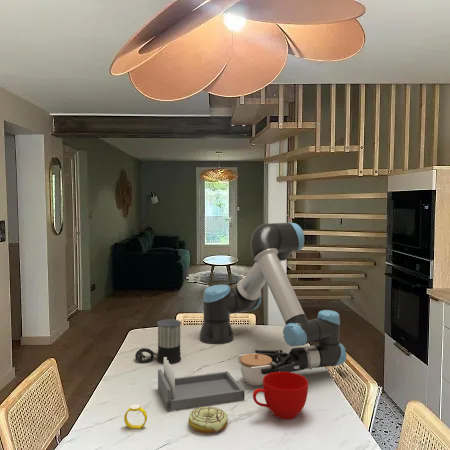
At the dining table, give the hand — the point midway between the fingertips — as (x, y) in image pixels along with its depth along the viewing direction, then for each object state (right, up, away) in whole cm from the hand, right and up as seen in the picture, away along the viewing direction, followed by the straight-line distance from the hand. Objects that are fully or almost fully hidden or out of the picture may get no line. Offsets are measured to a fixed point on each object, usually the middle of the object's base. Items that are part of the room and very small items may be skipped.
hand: (244, 365), depth 146 cm
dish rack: (-15, -7, -7) cm, 17 cm away
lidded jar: (+4, -6, +2) cm, 8 cm away
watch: (-31, -8, -27) cm, 42 cm away
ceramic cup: (+9, -8, -20) cm, 23 cm away
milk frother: (-32, -6, +23) cm, 40 cm away
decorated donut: (-11, -9, -25) cm, 29 cm away
